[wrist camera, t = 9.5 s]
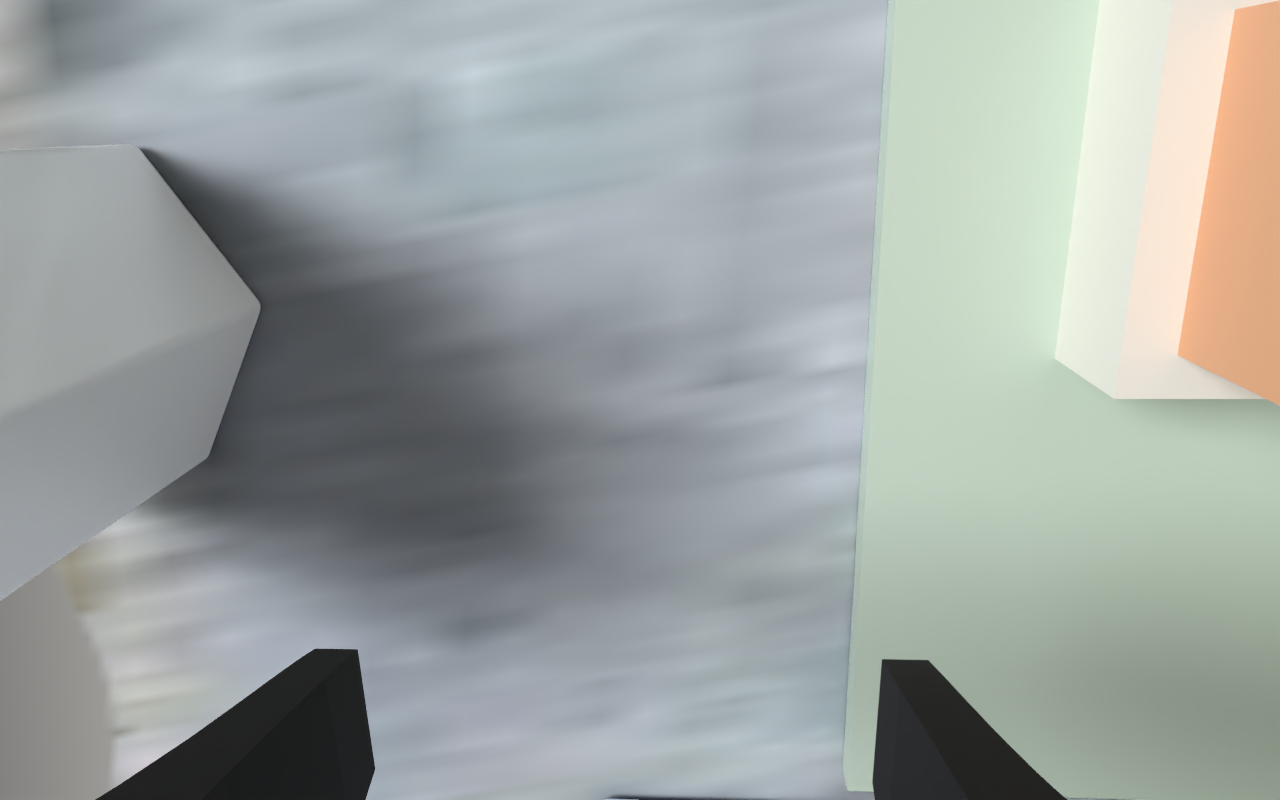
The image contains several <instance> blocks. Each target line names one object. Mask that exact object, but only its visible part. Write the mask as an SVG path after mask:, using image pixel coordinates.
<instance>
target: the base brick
mask: <svg viewBox="0 0 1280 800" xmlns="http://www.w3.org/2000/svg"><path fill="white" fill-rule="evenodd" d="M1274 1H1279V0H1099V8H1098V16H1097V24H1096V32H1095V40H1094V48H1093V56H1092V64H1091V72H1090V80H1089V88H1088V96H1087V104H1086V112H1085V120H1084V128H1083V136H1082V144H1081V152H1080V160H1079V168H1078V176H1077V184H1076V192H1075V200H1074V208H1073V216H1072V224H1071V232H1070V240H1069V248H1068V256H1067V264H1066V272H1065V280H1064V288H1063V296H1062V304H1061V313H1060V320H1059V329H1058V337H1057V345H1056V353H1055V359H1056V360H1057V361H1059V362H1060V363H1062V364H1063V365H1065V366H1066V367H1068V368H1069V369H1071V370H1072V371H1074V372H1075V373H1077V374H1078V375H1079V376H1081V377H1082V378H1084V379H1085V380H1087V381H1088V382H1090V383H1091V384H1093V385H1094V386H1096V387H1097V388H1099V389H1100V390H1102V391H1103V392H1105V393H1106V394H1107V395H1109V396H1110V397H1112V398H1113V399H1265V398H1263V397H1261V396H1259V395H1257V394H1255V393H1253V392H1251V391H1249V390H1247V389H1245V388H1243V387H1241V386H1239V385H1237V384H1235V383H1233V382H1231V381H1229V380H1227V379H1225V378H1223V377H1221V376H1219V375H1217V374H1215V373H1213V372H1211V371H1209V370H1207V369H1205V368H1203V367H1201V366H1198V365H1196V364H1194V363H1192V362H1190V361H1188V360H1186V359H1184V358H1182V357H1180V356H1178V355H1177V354H1178V348H1179V342H1180V336H1181V330H1182V324H1183V318H1184V312H1185V306H1186V300H1187V294H1188V288H1189V282H1190V276H1191V270H1192V264H1193V258H1194V252H1195V246H1196V240H1197V234H1198V228H1199V222H1200V216H1201V210H1202V204H1203V198H1204V192H1205V186H1206V180H1207V174H1208V168H1209V162H1210V156H1211V150H1212V144H1213V138H1214V132H1215V126H1216V120H1217V114H1218V108H1219V102H1220V96H1221V90H1222V84H1223V78H1224V72H1225V66H1226V60H1227V54H1228V48H1229V42H1230V36H1231V30H1232V24H1233V18H1234V12H1235V9H1240V8H1245V7H1250V6H1255V5H1260V4H1264V3H1269V2H1274Z"/></svg>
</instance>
